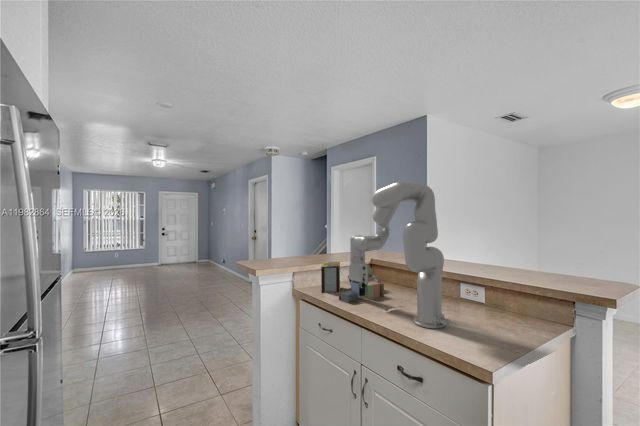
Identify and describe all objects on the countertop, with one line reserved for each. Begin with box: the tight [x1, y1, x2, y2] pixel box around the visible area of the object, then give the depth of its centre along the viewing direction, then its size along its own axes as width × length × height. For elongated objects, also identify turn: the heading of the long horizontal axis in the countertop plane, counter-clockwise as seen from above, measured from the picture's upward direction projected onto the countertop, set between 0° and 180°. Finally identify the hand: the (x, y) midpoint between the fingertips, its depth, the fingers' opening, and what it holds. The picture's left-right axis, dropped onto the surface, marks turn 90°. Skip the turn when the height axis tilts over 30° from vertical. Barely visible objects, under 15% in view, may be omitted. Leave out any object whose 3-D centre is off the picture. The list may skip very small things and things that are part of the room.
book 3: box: [369, 281, 380, 299], centre depth 165 cm, size 6×4×7 cm, turn 34°
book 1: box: [350, 281, 365, 298], centre depth 159 cm, size 6×4×7 cm, turn 34°
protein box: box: [320, 261, 341, 294], centre depth 181 cm, size 10×15×16 cm
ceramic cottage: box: [366, 264, 382, 283], centre depth 179 cm, size 16×16×15 cm
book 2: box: [364, 283, 374, 299], centre depth 163 cm, size 6×4×7 cm, turn 34°
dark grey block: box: [340, 290, 358, 304], centre depth 156 cm, size 6×6×4 cm
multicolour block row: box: [338, 281, 385, 305], centre depth 160 cm, size 9×23×8 cm, turn 124°
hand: (357, 293), depth 159 cm, fingers closed on book 1, 6 cm apart
